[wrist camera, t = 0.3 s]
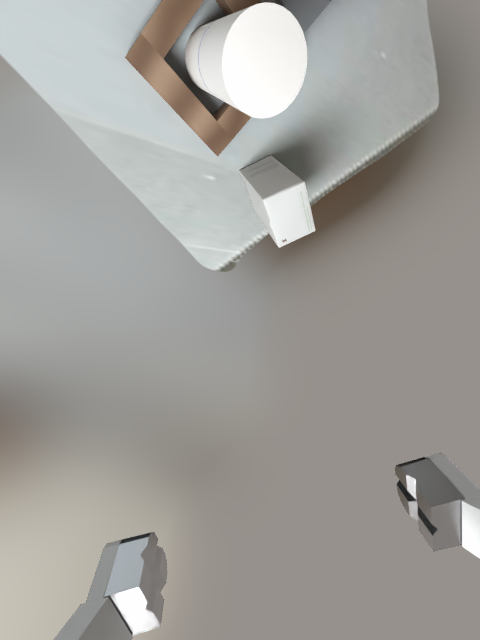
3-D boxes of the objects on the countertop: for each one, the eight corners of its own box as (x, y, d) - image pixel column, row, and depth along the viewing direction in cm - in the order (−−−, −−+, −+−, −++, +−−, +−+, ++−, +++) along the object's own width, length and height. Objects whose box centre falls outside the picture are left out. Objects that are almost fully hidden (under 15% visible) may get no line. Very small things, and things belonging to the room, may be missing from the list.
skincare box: (282, 197, 59) (318, 232, 47) (250, 212, 59) (278, 251, 48) (270, 152, 53) (307, 180, 41) (235, 169, 53) (262, 201, 42)
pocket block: (125, 57, 41) (124, 57, 38) (207, -68, 36) (213, -79, 33) (212, 150, 50) (217, 156, 48) (286, 62, 45) (297, 63, 42)
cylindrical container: (180, 26, 40) (217, 4, 22) (233, 22, 41) (311, 0, 23) (189, 93, 45) (225, 122, 27) (236, 89, 46) (303, 114, 28)
